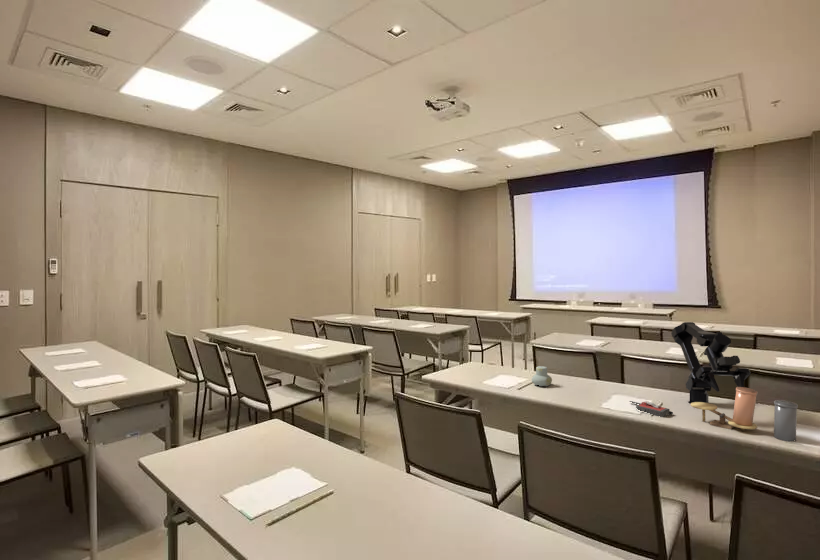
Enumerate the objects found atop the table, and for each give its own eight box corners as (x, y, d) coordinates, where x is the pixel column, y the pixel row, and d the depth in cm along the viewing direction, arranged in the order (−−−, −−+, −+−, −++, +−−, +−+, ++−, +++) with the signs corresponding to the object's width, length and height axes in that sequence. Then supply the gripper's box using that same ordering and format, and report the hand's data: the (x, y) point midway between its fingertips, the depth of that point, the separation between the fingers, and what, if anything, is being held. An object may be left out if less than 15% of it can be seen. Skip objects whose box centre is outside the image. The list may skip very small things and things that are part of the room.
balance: (687, 421, 182) (687, 405, 182) (695, 416, 187) (695, 400, 187) (753, 436, 165) (753, 418, 165) (760, 430, 170) (760, 412, 170)
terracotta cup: (727, 419, 173) (732, 387, 172) (738, 418, 175) (743, 386, 174) (745, 427, 167) (750, 393, 165) (757, 425, 169) (761, 392, 168)
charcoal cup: (771, 438, 162) (772, 403, 161) (774, 432, 167) (775, 398, 166) (795, 443, 157) (796, 407, 157) (797, 437, 162) (798, 402, 161)
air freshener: (543, 388, 237) (543, 370, 237) (529, 386, 243) (529, 367, 243) (553, 384, 244) (553, 366, 244) (540, 382, 250) (540, 364, 250)
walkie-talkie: (675, 415, 191) (630, 404, 208) (675, 404, 191) (630, 394, 208) (665, 419, 186) (620, 407, 203) (665, 408, 186) (620, 398, 203)
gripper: (700, 347, 185) (714, 380, 174) (749, 348, 182) (766, 382, 172) (690, 361, 193) (702, 394, 182) (736, 363, 191) (751, 396, 180)
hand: (730, 391), depth 179 cm, fingers open, 9 cm apart
